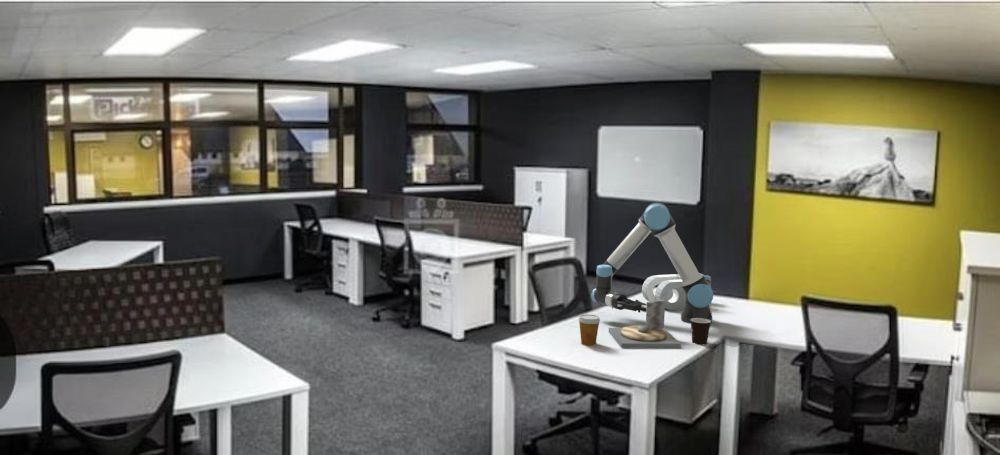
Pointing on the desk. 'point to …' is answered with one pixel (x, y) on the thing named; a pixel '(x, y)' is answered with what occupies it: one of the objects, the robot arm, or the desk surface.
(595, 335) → the disposable coffee cup
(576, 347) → the desk surface
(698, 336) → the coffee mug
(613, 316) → the desk surface
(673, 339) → the base
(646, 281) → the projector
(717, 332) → the desk surface
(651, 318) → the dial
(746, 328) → the desk surface
